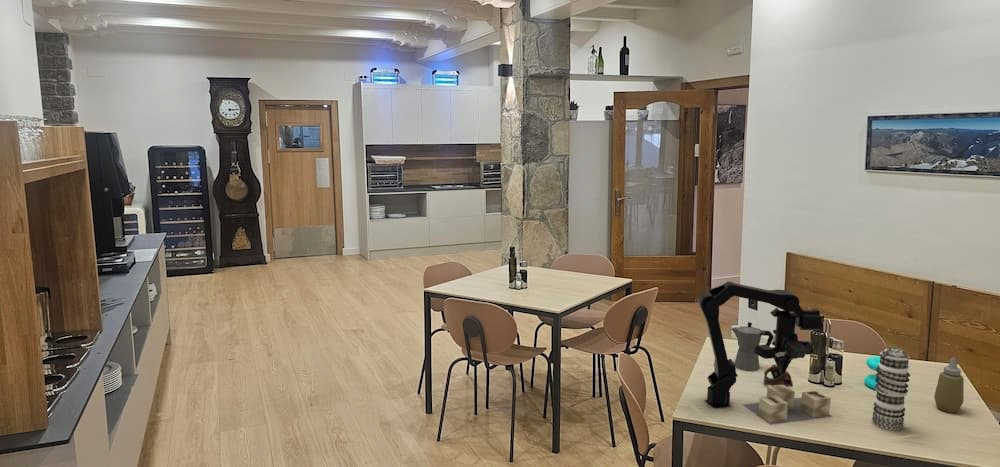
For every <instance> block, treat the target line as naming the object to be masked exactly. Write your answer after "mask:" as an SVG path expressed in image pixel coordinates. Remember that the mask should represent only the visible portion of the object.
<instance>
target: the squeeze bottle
mask: <svg viewBox="0 0 1000 467" xmlns="http://www.w3.org/2000/svg"><path fill="white" fill-rule="evenodd" d="M964 387H965V386H964V376H962V370H961V368H959V367H958V364H957V358H956V357H952V356H951V358H950V361H949V364H948V365H946V366H944V367H943V372H940V373H939V375H938V380H937V384H936V388H935V392H934V396H933V398H934V401H935V404H936V408H937V409H938V410H940V411H942V412H945V413H946V412H947V413H952V414H953V413H958V412H959V410H960V409H961V407H962V406H963V404H964V396H965V395H964V394H965V393H964V392H965V391H964V389H965V388H964Z"/></svg>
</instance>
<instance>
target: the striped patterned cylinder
mask: <svg viewBox="0 0 1000 467" xmlns="http://www.w3.org/2000/svg"><path fill="white" fill-rule="evenodd" d="M879 355H880V356H879V357H880V362H879V365H878V366H877V367H876V371H875V372H876V373H875V374H876V382H877V384H876V385H875V386H876V396H875V401H874V402H873V411H872V418H871V420H872V422H873V423H874V425H875V426H877V427H879V428H882V429H884V430H889V431H897V430H900V429H903V428H902V427H904V424H905V423H904V422H905V418H904V417H905V414H906V413H905V412H906V408H905V397H906V396H907V393H908V392H909V391H908V389H907V388H909V385H908V383H909V382H910V381H911V380H910V378H909V377H910V376H911V374H910V373H909V368H910V366H909V360H911V357H910V356H909V355H908V353H907V352H906V351H904V350H903V349H899V348H896V347H895V348H894V347H888V348H885V349H884V350H882V351H880V352H879ZM879 369H880V371H879ZM878 380H879V381H878Z"/></svg>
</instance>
